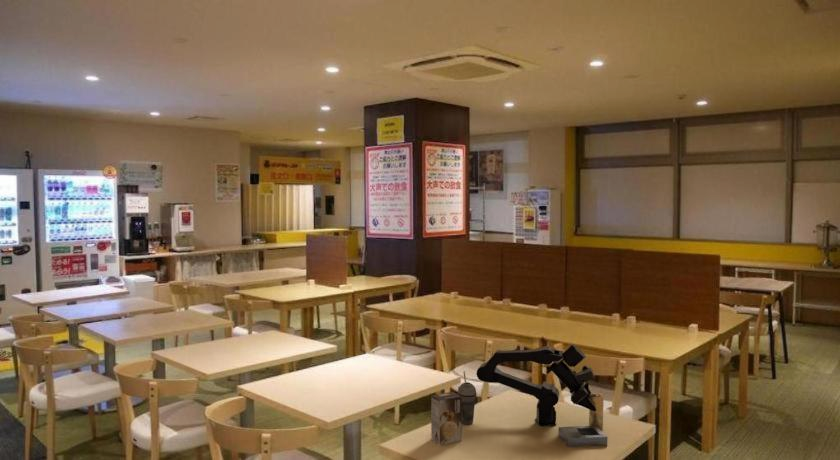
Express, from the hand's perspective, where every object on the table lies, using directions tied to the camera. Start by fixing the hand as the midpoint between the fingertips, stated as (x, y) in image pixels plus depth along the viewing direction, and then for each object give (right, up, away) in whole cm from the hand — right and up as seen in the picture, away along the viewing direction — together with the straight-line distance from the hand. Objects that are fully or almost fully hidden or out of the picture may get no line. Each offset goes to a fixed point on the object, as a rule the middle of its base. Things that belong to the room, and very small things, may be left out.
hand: (595, 406), depth 222 cm
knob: (0, -8, 0) cm, 8 cm away
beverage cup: (-47, -8, +5) cm, 48 cm away
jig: (-8, -9, -10) cm, 16 cm away
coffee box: (-56, -9, -11) cm, 58 cm away
